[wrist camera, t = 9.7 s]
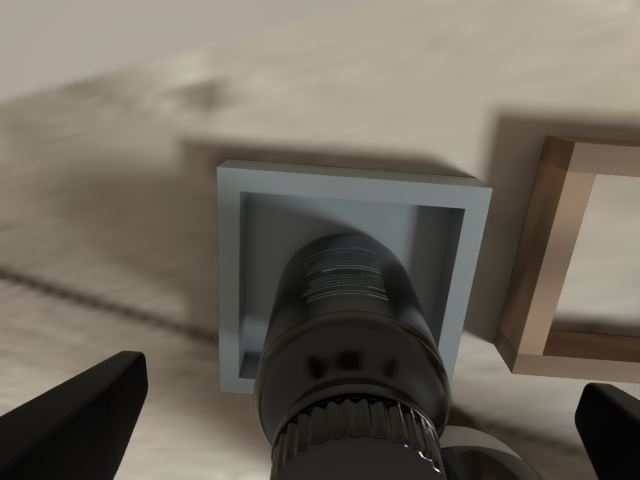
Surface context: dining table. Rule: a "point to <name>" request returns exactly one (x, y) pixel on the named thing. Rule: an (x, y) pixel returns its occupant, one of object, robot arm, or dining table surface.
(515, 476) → the grey egg shaped device
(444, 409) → the supplement bottle
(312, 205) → the slate tray
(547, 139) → the walnut collar
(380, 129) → the dining table surface
